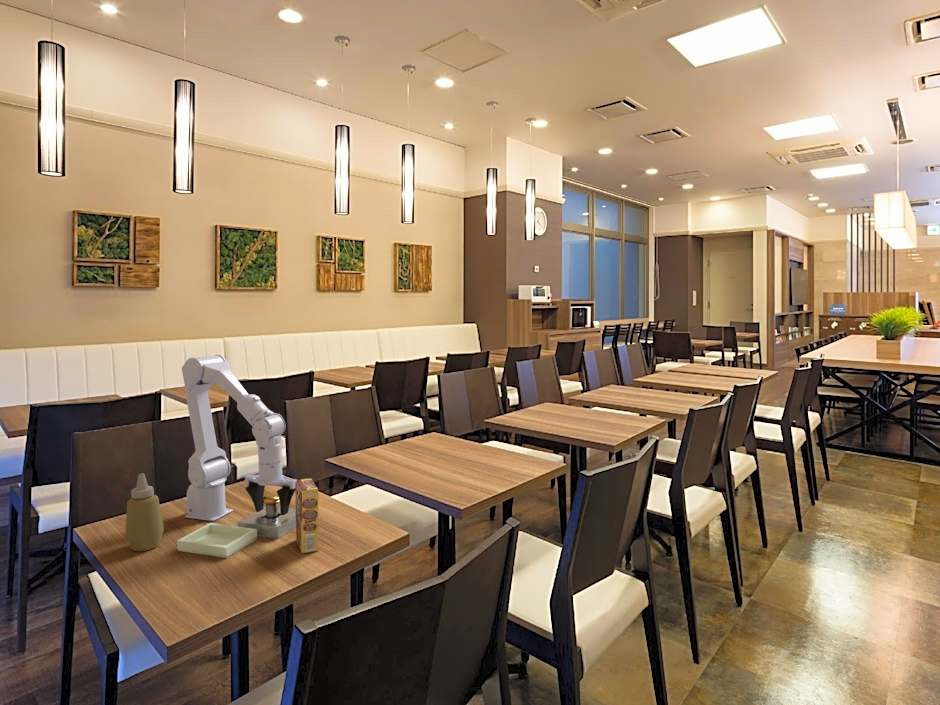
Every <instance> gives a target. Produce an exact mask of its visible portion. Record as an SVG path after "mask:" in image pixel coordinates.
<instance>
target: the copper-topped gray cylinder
mask: <svg viewBox="0 0 940 705" xmlns="http://www.w3.org/2000/svg"><path fill="white" fill-rule="evenodd" d="M263 503H264V505H265V506H266V518H268V519H276V518H277V517H278V507H279V503H280V500H279V496H278V494H277V493H276V494H275V493H273V494H268V495H264V497H263Z"/></svg>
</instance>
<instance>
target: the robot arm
mask: <svg viewBox="0 0 940 705" xmlns="http://www.w3.org/2000/svg"><path fill="white" fill-rule="evenodd" d="M181 373H182V378H183V384H184V390H185V392H184V393H185V398H186V402H187V403H186V404H187V409H188V410H187V411H188V414H189V421H190V426H191V431H192V438H193V442H194V443H193V444H194V449H195V450H194V453H193V454H192V455H191V457H189V459H188V461H187V462H188V470H187V476H188V480H189V482H190V485H188V488H187V490H186V508H187V509H186V512H187V514H186V515H185V516H184V517H185V518H187V519H193V520H200V521H209V522H215V521H217V520H218V519H220V518H222V517H224V516H226V515H228V514H229V513H232V512H233V511H234V509H232V508H226V504H227V503H226V485H225V484H226V481H227V479H228V478H227V477H228V476H229V475H230V473H231V469H232V466H231V464H230V461H229V459H228V458H227V453H226V451H225V450H224V449H222V448H220V447H219V446H218V442H217V438H216V432H215V427H214V426H215V425H214V420H213V419H214V418H213V414H212V409H211V403H210V397H209V392H208V391H209V389H210V388H212V386H213V384H214V385H215V384H216V385H218V386H219V387H221V389H223V391H224V392H225V393H226V394H228V395H229V396H230V397H231V398H232V400H234V401H235V402H236V403H237V404H236V409H237V411H238V412H239V413H240V414H241V415H242V416H243V417H244V419H245V420H246V421H247V422H248V423H249V424H250V425H251V426H252V427H251V432H252V435H253V437H254V438H255V445H256V446H257V453H258V455H257V456H258V457H257V458H258V474H248V475H246V476H244V484H245V485H248V486H246V487H245V491H246V492H247V494H248V495H249V496H250V498H251V500H252V502H253V505H254V506H253V507H254V508H255V512H259V511H261V510H263V507H264V506H265V503H263V497H264V496H265V495H264V494H265V493H264V492H265V488H266V486H272V487H280V489H278V490H276V495H278V496H279V500H280V501H279V504H280V506H279V507H280V511H281V515H285V514H287V513H288V510H289V508H290V505H291V501H292V498H293V496H294V494H295V481H297V480H298V479H295V478H291V477H288V476H285V475H283V458H282V456H283V455H282V434H284V433H285V431H286V427H287V426H286V421H285V419H284V417H283V416H282V415H281V414H280V413H276V412H274V411H272V410H271V409H269V408H268V407H267V406H266V405H265V403H264V402H263V401H262V400H261V398H260V397H259V395H256V394H254V393H253V394H251V393H250V394H249V393H248V392H247V390H246V389H245V388H244V386H243V385H242V384H241V382H240V381H239V380H238V379H237V377H236V376H235V375H234V373H233V372H232V371H231V364H230V362H228V361H227V359H226V358H225V357H224V356H223V355H221V354H215V355H208V356H200V357H189V358H188V359H186V360H185V362H184V364H182V367H181Z"/></svg>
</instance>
